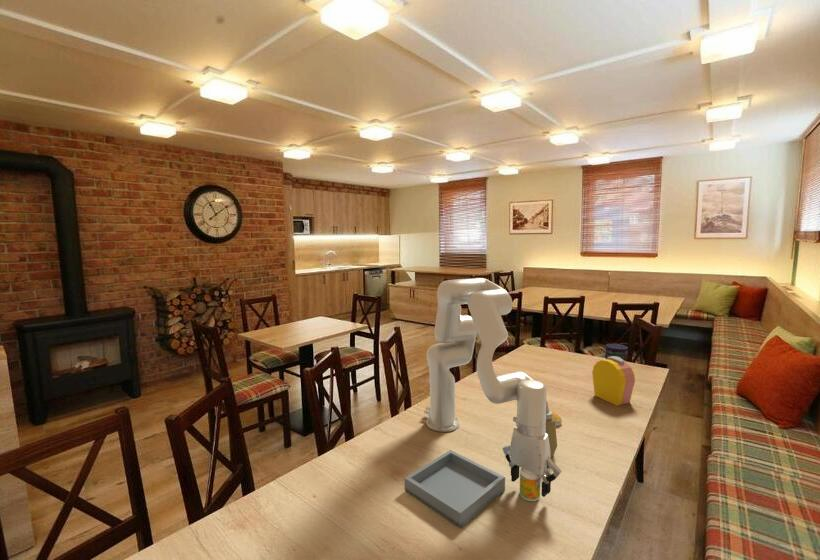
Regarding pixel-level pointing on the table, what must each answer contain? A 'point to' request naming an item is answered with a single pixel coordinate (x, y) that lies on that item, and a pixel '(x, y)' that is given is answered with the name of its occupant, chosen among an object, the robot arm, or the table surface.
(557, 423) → the bread roll
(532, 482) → the supplement bottle
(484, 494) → the box
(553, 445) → the squeeze bottle
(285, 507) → the table surface
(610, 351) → the storage jar
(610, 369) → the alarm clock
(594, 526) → the table surface
